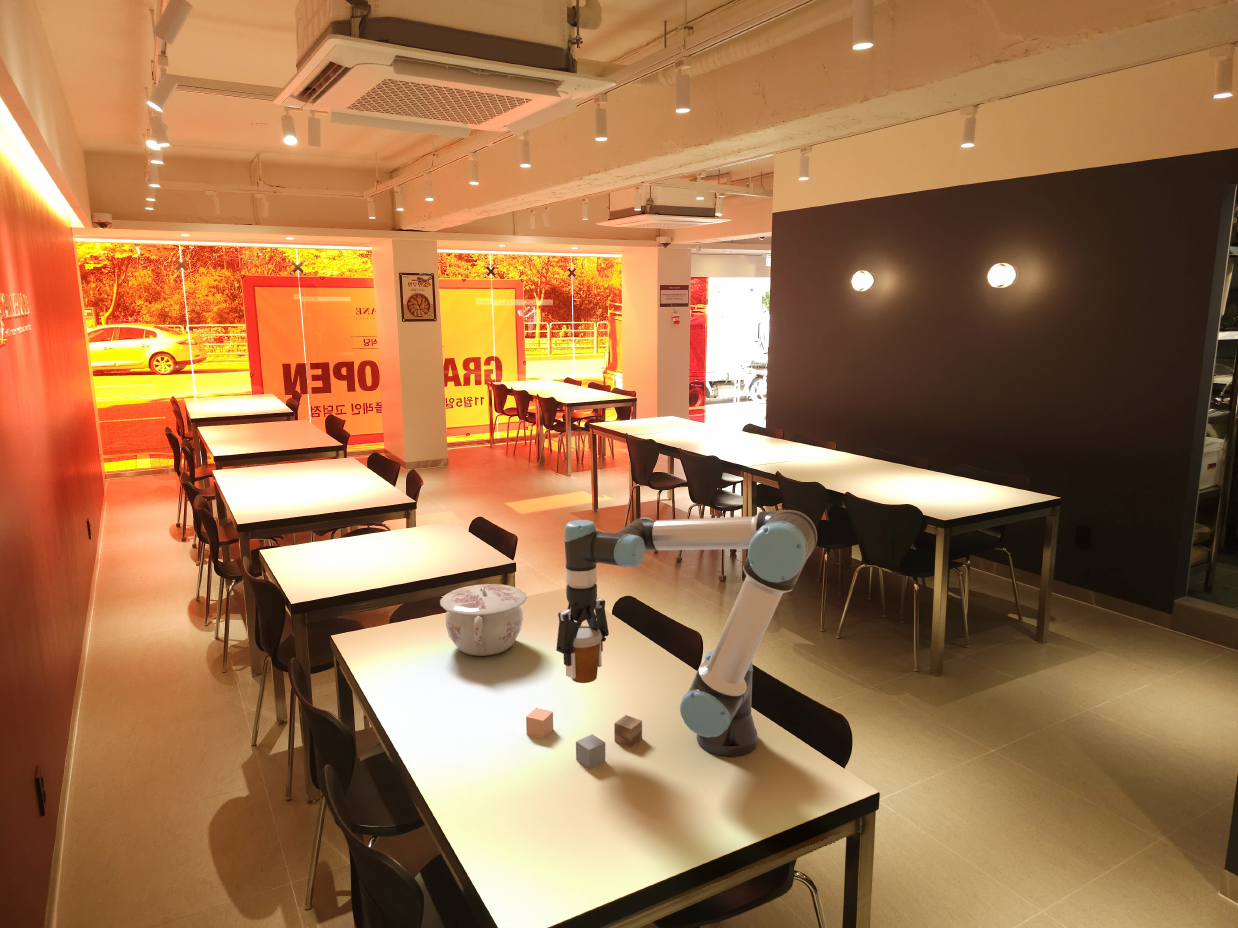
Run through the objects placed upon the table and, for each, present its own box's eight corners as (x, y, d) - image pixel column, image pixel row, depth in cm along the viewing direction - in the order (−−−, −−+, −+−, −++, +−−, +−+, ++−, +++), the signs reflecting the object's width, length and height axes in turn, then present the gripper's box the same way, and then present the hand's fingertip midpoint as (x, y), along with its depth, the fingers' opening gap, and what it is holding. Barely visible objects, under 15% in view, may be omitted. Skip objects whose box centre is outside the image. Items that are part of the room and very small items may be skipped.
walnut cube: (642, 738, 196) (642, 720, 195) (631, 747, 191) (631, 728, 191) (625, 732, 198) (625, 714, 197) (614, 741, 194) (614, 723, 193)
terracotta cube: (553, 729, 200) (552, 711, 199) (543, 738, 196) (543, 720, 195) (536, 725, 202) (536, 707, 201) (526, 734, 198) (526, 716, 197)
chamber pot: (486, 624, 269) (483, 567, 265) (545, 643, 253) (544, 582, 250) (422, 652, 247) (419, 590, 243) (483, 674, 231) (481, 608, 227)
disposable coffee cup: (598, 687, 187) (597, 640, 185) (560, 684, 189) (559, 638, 187) (607, 670, 197) (606, 626, 195) (570, 668, 199) (569, 623, 196)
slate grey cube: (605, 761, 186) (605, 742, 185) (589, 769, 182) (588, 749, 181) (592, 752, 189) (592, 733, 188) (576, 760, 186) (575, 741, 185)
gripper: (601, 570, 199) (603, 653, 203) (538, 591, 184) (541, 680, 188) (622, 576, 193) (624, 661, 197) (559, 598, 179) (562, 689, 183)
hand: (584, 670), depth 193 cm, fingers closed on disposable coffee cup, 8 cm apart
